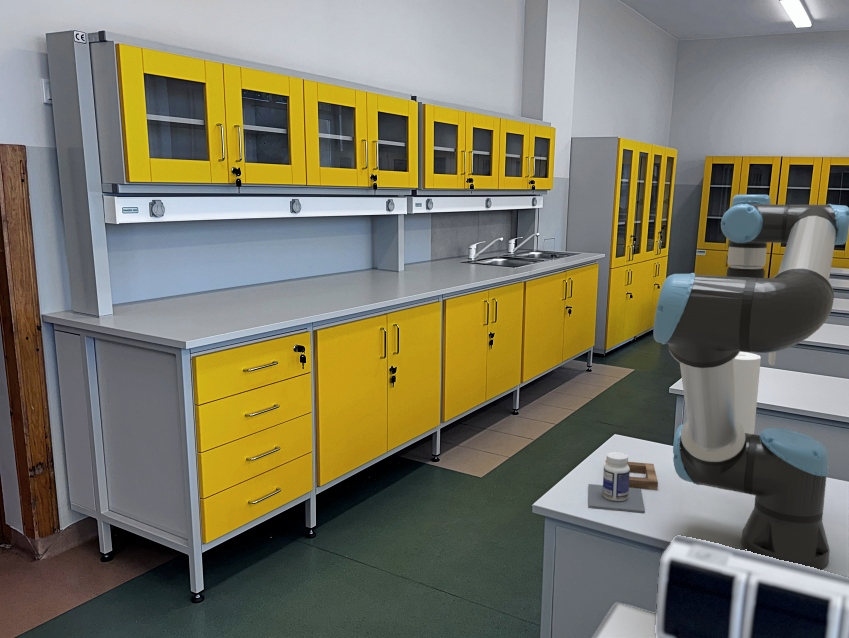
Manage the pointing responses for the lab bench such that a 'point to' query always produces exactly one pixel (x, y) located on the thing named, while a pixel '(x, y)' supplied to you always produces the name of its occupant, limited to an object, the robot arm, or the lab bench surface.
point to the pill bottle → (616, 477)
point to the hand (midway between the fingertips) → (738, 362)
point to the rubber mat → (600, 502)
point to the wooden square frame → (640, 482)
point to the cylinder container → (746, 388)
